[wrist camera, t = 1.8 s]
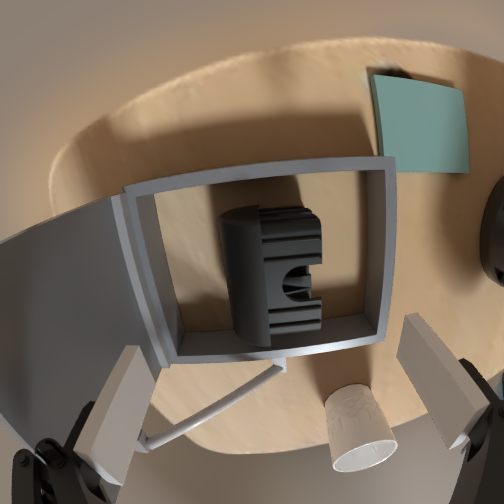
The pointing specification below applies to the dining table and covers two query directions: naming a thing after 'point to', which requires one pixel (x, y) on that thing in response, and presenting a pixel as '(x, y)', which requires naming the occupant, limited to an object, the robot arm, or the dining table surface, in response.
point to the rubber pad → (421, 125)
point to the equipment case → (149, 302)
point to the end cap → (271, 270)
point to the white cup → (357, 429)
